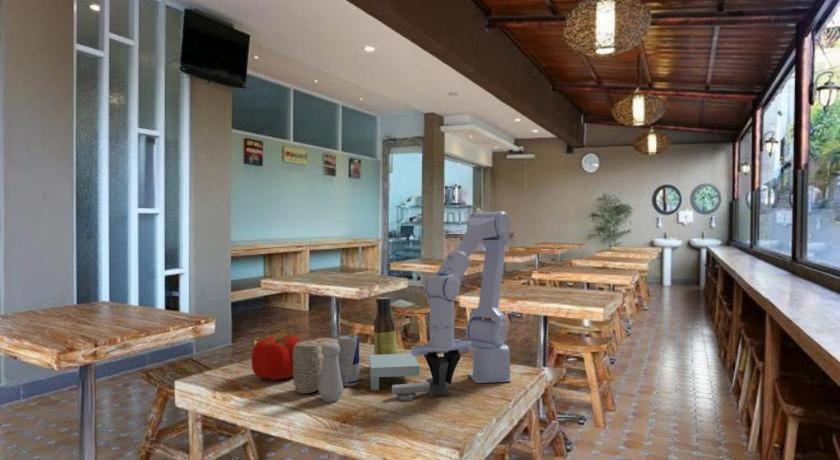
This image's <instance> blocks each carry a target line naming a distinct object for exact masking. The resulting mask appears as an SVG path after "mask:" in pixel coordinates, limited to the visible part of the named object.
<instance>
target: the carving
mask: <svg viewBox="0 0 840 460" xmlns="http://www.w3.org/2000/svg"><path fill="white" fill-rule="evenodd" d="M319 345H320V344H319V343H318V342H317V341H315V340H303V341H301V342H298V343H296V344H295V345H294V346H295V347H294V348H293V349H294V350H293V377H292V378H293V382H294V383H293V385H294V387H295V388H294V389H295V391H296V392H297V393H299V394H310V393H314V392H316V391H319V390H318V388H319V382H320V376H321V370H322V364H321V356H320V346H319Z"/></svg>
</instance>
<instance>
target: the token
mask: <svg viewBox="0 0 840 460" xmlns="http://www.w3.org/2000/svg"><path fill="white" fill-rule="evenodd" d="M416 394H417V393H404V394H396V399H397V400H398V401H401V402H411V401H414V400H416Z"/></svg>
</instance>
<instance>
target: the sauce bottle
mask: <svg viewBox="0 0 840 460" xmlns="http://www.w3.org/2000/svg"><path fill="white" fill-rule="evenodd" d="M375 301H376V313H377V314H376V316H375V318H374V321H373V346H374V347H373V348H374V355H383V354H397V339H396V338H397V335H396V334H397V333H396V324H395V322H394V318H393V316H392V312H391V302H392V301H391V297H390V296H379V297H377V298H376V300H375Z"/></svg>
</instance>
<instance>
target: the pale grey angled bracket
mask: <svg viewBox="0 0 840 460" xmlns="http://www.w3.org/2000/svg"><path fill="white" fill-rule="evenodd" d="M405 376H406V377H407V376H420V364H419V362H418V360H417V356H415V357H414V356H413V355H412V352H411V353H396V354H383V355H375V354H369V381H370V390H371V391H378V390H380V378H382V377H405Z"/></svg>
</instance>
